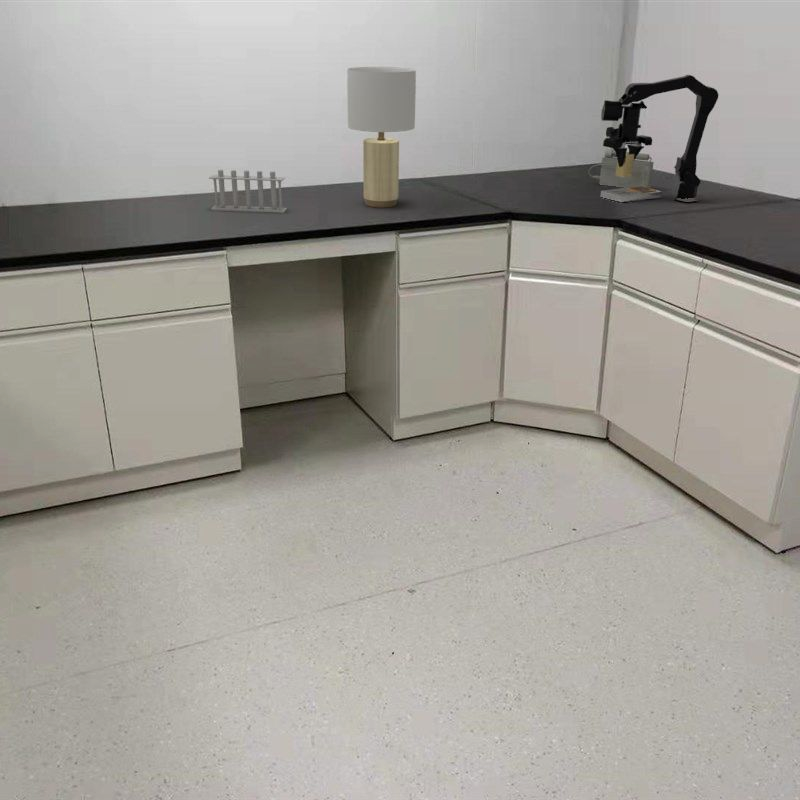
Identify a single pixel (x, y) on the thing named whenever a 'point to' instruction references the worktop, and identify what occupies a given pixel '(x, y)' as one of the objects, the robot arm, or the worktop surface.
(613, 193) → the rail plate
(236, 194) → the test tube rack
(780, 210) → the worktop surface
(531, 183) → the worktop surface
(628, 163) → the brass peg
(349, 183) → the worktop surface
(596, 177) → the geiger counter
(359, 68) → the lamp
